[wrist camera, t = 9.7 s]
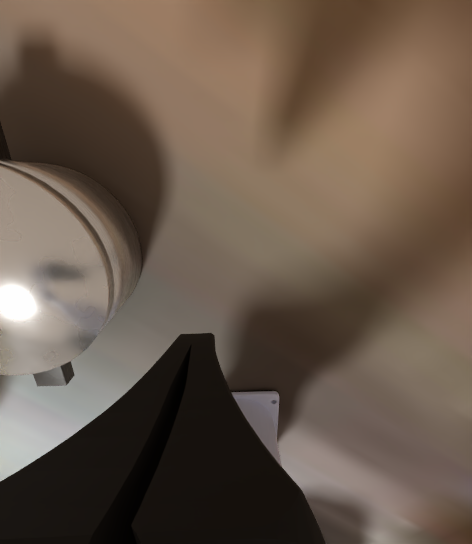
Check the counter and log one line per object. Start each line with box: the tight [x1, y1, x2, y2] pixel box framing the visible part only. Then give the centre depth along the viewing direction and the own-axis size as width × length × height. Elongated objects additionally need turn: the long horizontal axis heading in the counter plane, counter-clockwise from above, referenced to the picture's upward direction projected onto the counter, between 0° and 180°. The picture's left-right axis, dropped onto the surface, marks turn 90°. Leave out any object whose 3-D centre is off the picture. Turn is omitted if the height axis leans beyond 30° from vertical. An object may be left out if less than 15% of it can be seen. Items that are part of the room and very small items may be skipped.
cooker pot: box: [0, 123, 142, 386], centre depth 17 cm, size 17×12×5 cm
